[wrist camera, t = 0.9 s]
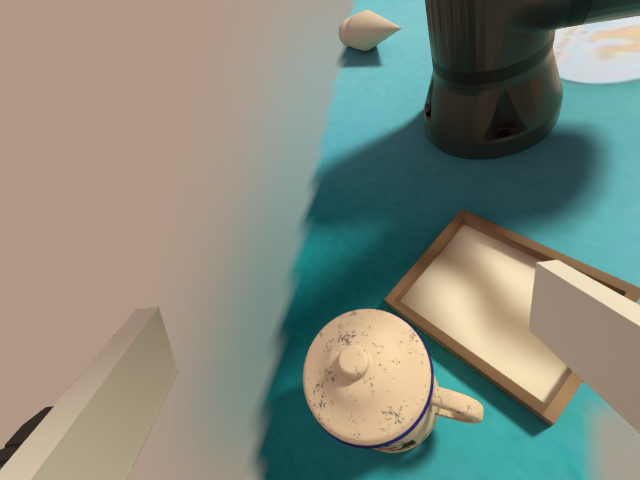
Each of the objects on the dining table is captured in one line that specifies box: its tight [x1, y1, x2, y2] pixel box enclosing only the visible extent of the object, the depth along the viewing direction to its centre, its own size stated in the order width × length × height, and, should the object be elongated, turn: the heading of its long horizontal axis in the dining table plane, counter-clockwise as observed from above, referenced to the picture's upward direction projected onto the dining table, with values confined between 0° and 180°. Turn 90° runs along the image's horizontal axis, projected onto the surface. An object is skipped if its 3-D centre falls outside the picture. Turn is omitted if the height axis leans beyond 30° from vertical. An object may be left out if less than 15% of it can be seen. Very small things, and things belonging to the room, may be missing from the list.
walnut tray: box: [384, 209, 640, 426], centre depth 31 cm, size 13×16×2 cm
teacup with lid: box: [303, 309, 483, 453], centre depth 25 cm, size 12×9×12 cm
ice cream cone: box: [339, 10, 401, 51], centre depth 60 cm, size 6×6×15 cm
